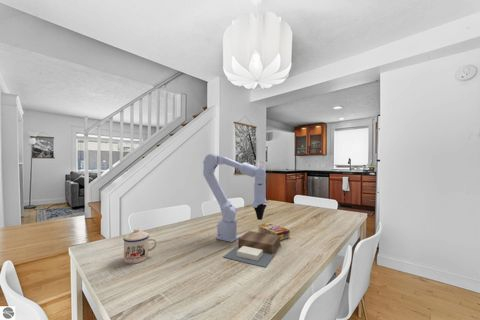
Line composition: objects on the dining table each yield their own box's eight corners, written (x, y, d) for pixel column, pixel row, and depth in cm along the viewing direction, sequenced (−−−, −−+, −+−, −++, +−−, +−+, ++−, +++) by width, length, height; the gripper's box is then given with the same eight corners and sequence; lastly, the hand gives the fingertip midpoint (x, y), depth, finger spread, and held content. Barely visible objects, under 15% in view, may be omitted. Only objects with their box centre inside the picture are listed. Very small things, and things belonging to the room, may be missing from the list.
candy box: (276, 232, 100) (257, 225, 113) (277, 241, 100) (258, 233, 113) (289, 229, 105) (270, 222, 118) (290, 237, 105) (270, 230, 117)
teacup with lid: (121, 266, 75) (121, 234, 75) (125, 255, 83) (125, 227, 83) (156, 260, 79) (156, 230, 79) (156, 251, 88) (157, 224, 88)
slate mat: (223, 257, 82) (223, 256, 82) (235, 247, 92) (235, 246, 92) (265, 267, 74) (265, 266, 74) (274, 255, 84) (274, 254, 84)
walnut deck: (238, 247, 92) (238, 238, 92) (248, 238, 103) (249, 230, 103) (272, 254, 85) (272, 245, 85) (280, 244, 96) (280, 235, 96)
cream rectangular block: (243, 245, 88) (243, 250, 88) (236, 251, 83) (236, 256, 83) (262, 249, 84) (262, 254, 84) (257, 255, 79) (257, 260, 79)
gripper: (262, 194, 95) (262, 224, 94) (271, 191, 108) (271, 217, 107) (248, 193, 98) (248, 222, 97) (259, 190, 111) (259, 215, 110)
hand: (259, 219), depth 103 cm, fingers closed
